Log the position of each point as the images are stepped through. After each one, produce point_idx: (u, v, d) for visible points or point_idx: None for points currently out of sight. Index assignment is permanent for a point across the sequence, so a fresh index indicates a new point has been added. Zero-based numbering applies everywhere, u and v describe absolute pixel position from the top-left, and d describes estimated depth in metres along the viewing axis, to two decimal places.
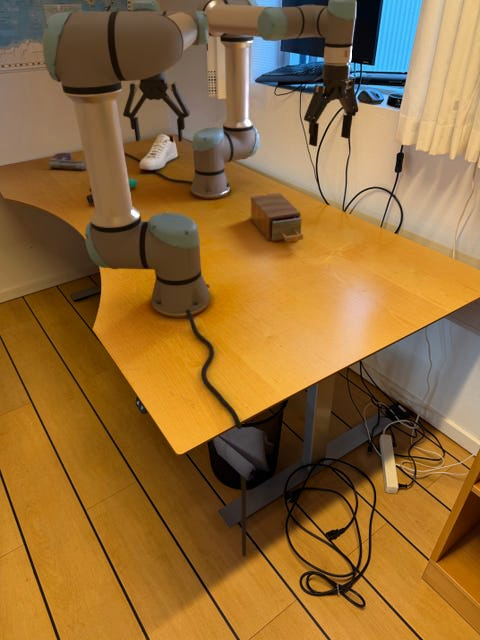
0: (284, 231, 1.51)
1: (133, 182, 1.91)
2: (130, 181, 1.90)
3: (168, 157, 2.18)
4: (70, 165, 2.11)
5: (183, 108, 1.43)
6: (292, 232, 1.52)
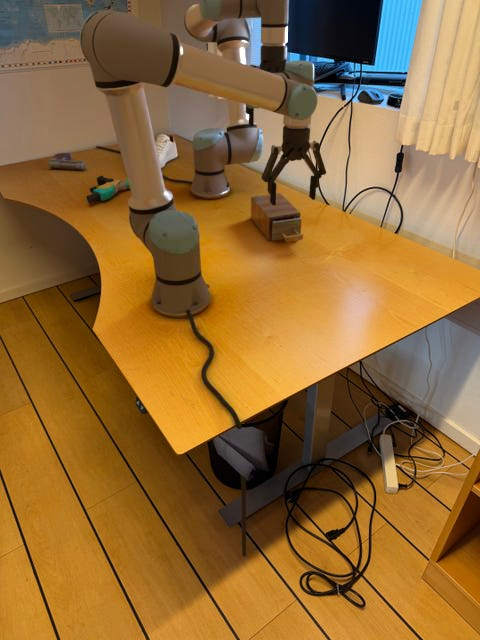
0: (284, 231, 1.51)
1: None
2: None
3: (168, 157, 2.18)
4: (70, 165, 2.11)
5: (322, 166, 1.38)
6: (292, 232, 1.52)
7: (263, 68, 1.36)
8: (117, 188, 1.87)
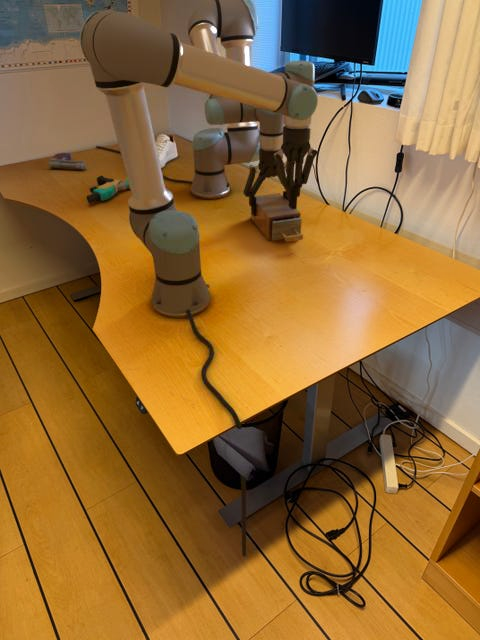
0: (284, 231, 1.51)
1: None
2: None
3: (168, 157, 2.18)
4: (70, 165, 2.11)
5: (307, 175, 1.38)
6: (292, 232, 1.52)
7: (261, 168, 1.53)
8: (117, 188, 1.87)
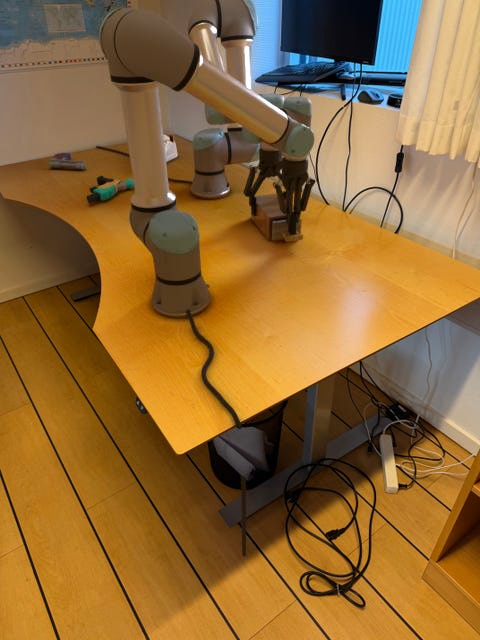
0: (284, 231, 1.51)
1: (133, 182, 1.91)
2: (130, 181, 1.90)
3: (168, 157, 2.18)
4: (70, 165, 2.11)
5: (305, 203, 1.43)
6: None
7: (261, 168, 1.53)
8: (117, 188, 1.87)
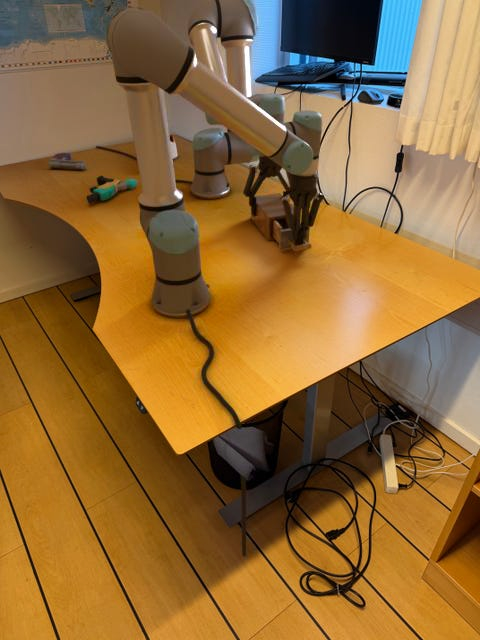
0: (292, 240, 1.46)
1: (133, 182, 1.91)
2: (130, 181, 1.90)
3: None
4: (70, 165, 2.11)
5: (313, 218, 1.39)
6: None
7: (261, 167, 1.53)
8: (117, 188, 1.87)
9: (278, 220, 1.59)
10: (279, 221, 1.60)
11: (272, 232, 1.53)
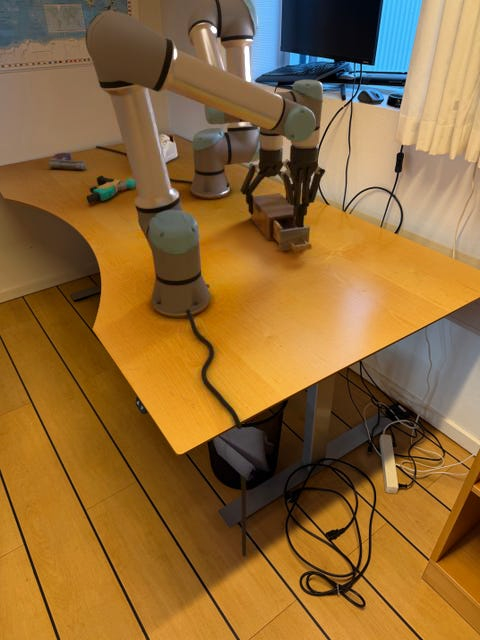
0: (292, 240, 1.46)
1: (133, 182, 1.91)
2: (130, 181, 1.90)
3: (168, 157, 2.18)
4: (70, 165, 2.11)
5: (314, 194, 1.35)
6: (300, 241, 1.47)
7: (261, 167, 1.53)
8: (117, 188, 1.87)
9: (278, 220, 1.60)
10: (279, 221, 1.60)
11: (272, 232, 1.53)
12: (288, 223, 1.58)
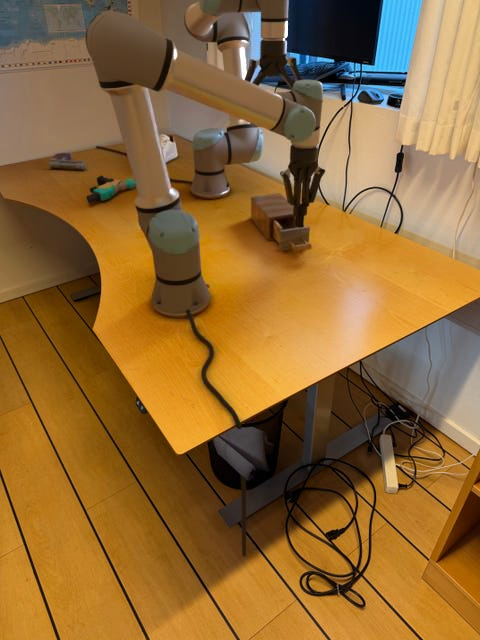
0: (292, 240, 1.46)
1: (133, 182, 1.91)
2: (130, 181, 1.90)
3: (168, 157, 2.18)
4: (70, 165, 2.11)
5: (314, 194, 1.35)
6: (300, 241, 1.47)
7: (263, 63, 1.36)
8: (117, 188, 1.87)
9: (278, 220, 1.60)
10: (279, 221, 1.60)
11: (272, 232, 1.53)
12: (288, 223, 1.58)
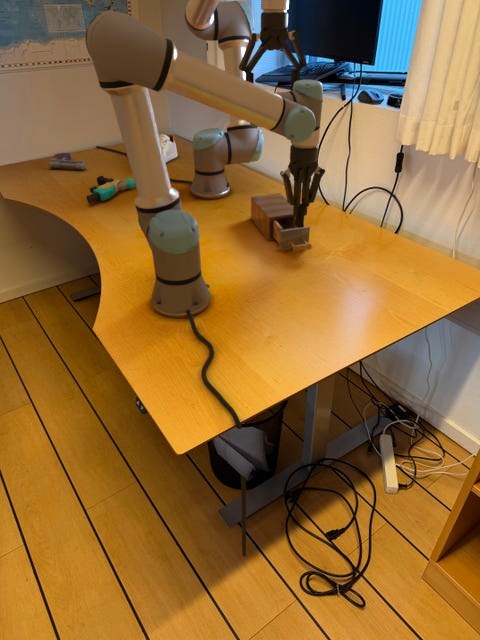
0: (292, 240, 1.46)
1: (133, 182, 1.91)
2: (130, 181, 1.90)
3: (168, 157, 2.18)
4: (70, 165, 2.11)
5: (314, 194, 1.35)
6: (300, 241, 1.47)
7: (263, 36, 1.32)
8: (117, 188, 1.87)
9: (278, 220, 1.60)
10: (279, 221, 1.60)
11: (272, 232, 1.53)
12: (288, 223, 1.58)
